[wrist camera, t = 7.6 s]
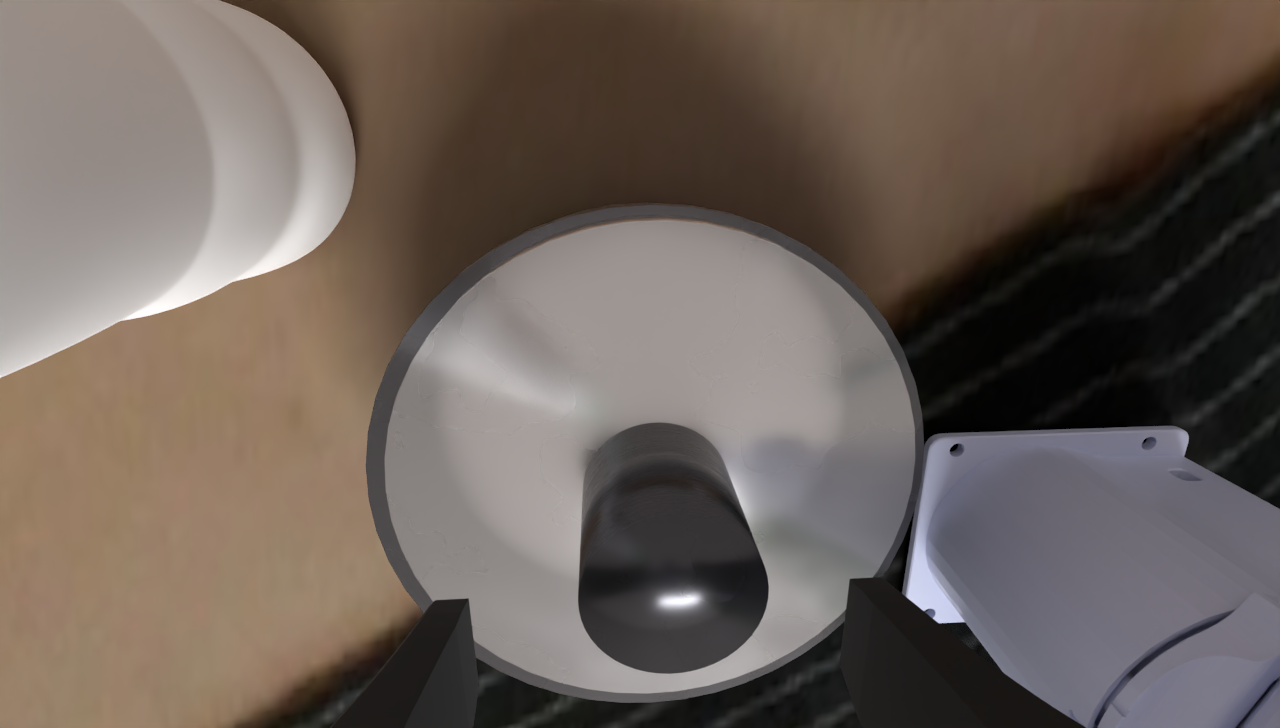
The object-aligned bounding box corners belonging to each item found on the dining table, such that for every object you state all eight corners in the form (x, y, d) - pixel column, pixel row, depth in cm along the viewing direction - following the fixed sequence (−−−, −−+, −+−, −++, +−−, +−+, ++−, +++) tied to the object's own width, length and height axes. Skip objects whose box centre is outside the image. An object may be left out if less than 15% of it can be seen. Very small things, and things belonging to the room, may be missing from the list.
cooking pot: (877, 185, 20) (964, 200, 15) (834, 584, 25) (889, 689, 20) (388, 192, 19) (320, 209, 14) (443, 602, 24) (405, 715, 19)
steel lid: (934, 220, 15) (1093, 259, 10) (857, 655, 20) (943, 828, 15) (373, 207, 14) (257, 243, 10) (420, 666, 19) (358, 853, 14)
